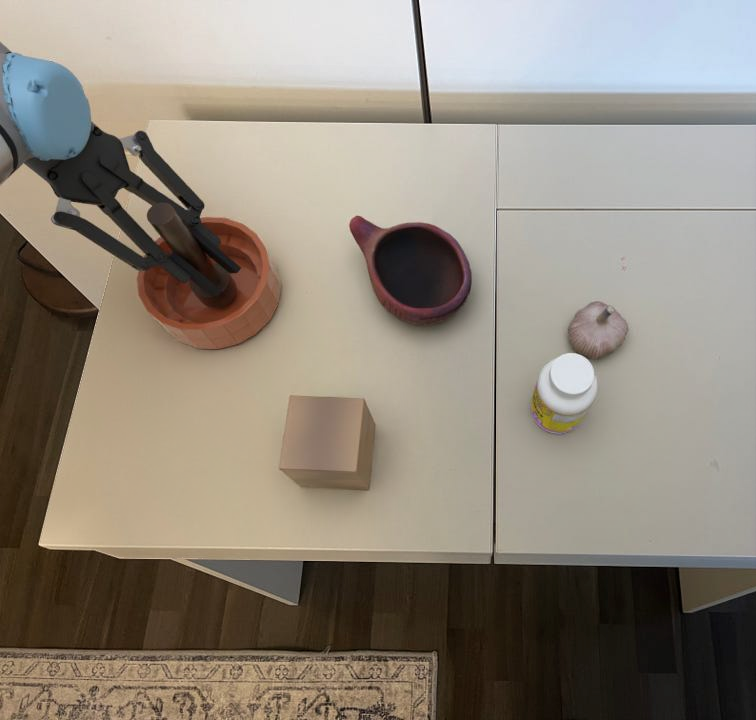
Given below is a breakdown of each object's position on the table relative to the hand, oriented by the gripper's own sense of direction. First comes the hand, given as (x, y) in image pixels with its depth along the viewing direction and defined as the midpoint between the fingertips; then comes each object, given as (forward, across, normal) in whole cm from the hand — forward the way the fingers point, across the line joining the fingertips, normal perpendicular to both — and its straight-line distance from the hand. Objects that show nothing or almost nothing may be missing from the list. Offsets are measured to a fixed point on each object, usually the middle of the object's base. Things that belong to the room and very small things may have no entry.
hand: (225, 281), depth 77 cm
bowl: (+18, -14, +5) cm, 23 cm away
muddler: (+2, 0, -7) cm, 7 cm away
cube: (+21, +9, +9) cm, 24 cm away
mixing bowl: (+3, 0, -9) cm, 10 cm away
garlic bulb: (+35, -20, +22) cm, 46 cm away
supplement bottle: (+35, -9, +22) cm, 42 cm away
